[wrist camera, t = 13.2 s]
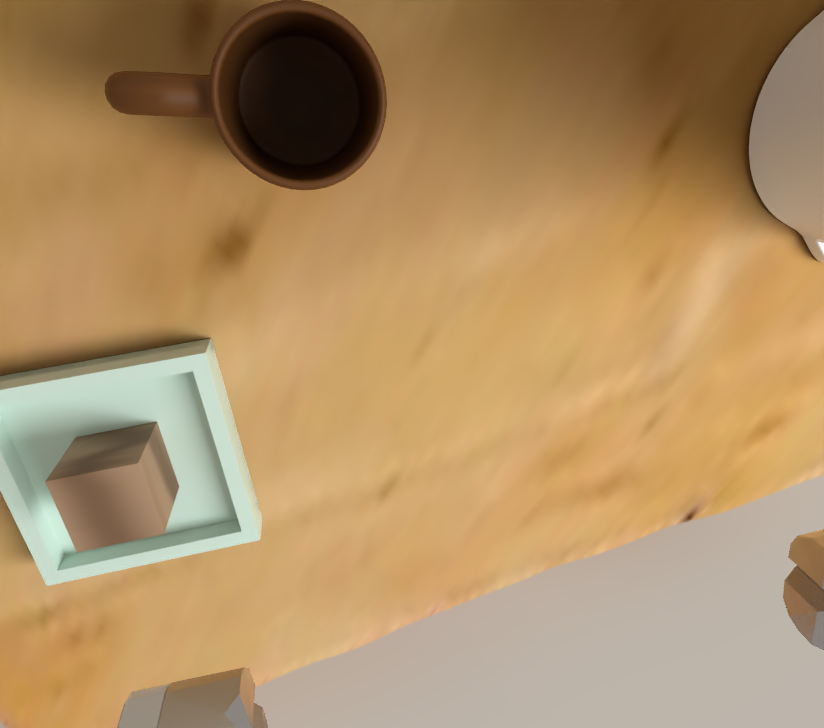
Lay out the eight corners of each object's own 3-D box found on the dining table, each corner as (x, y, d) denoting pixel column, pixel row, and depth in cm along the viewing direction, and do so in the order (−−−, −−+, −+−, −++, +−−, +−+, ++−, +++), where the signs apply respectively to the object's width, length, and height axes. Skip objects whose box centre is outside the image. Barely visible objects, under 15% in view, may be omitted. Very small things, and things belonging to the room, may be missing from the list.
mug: (153, 170, 34) (104, 190, 25) (134, 15, 31) (72, -22, 22) (367, 175, 36) (388, 195, 27) (368, 30, 33) (392, 2, 25)
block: (157, 421, 38) (138, 463, 34) (179, 486, 40) (164, 534, 36) (75, 437, 38) (45, 481, 33) (102, 502, 40) (76, 552, 35)
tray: (211, 338, 38) (205, 352, 36) (262, 517, 44) (260, 539, 41) (-24, 380, 37) (-46, 398, 34) (60, 560, 42) (46, 586, 40)
